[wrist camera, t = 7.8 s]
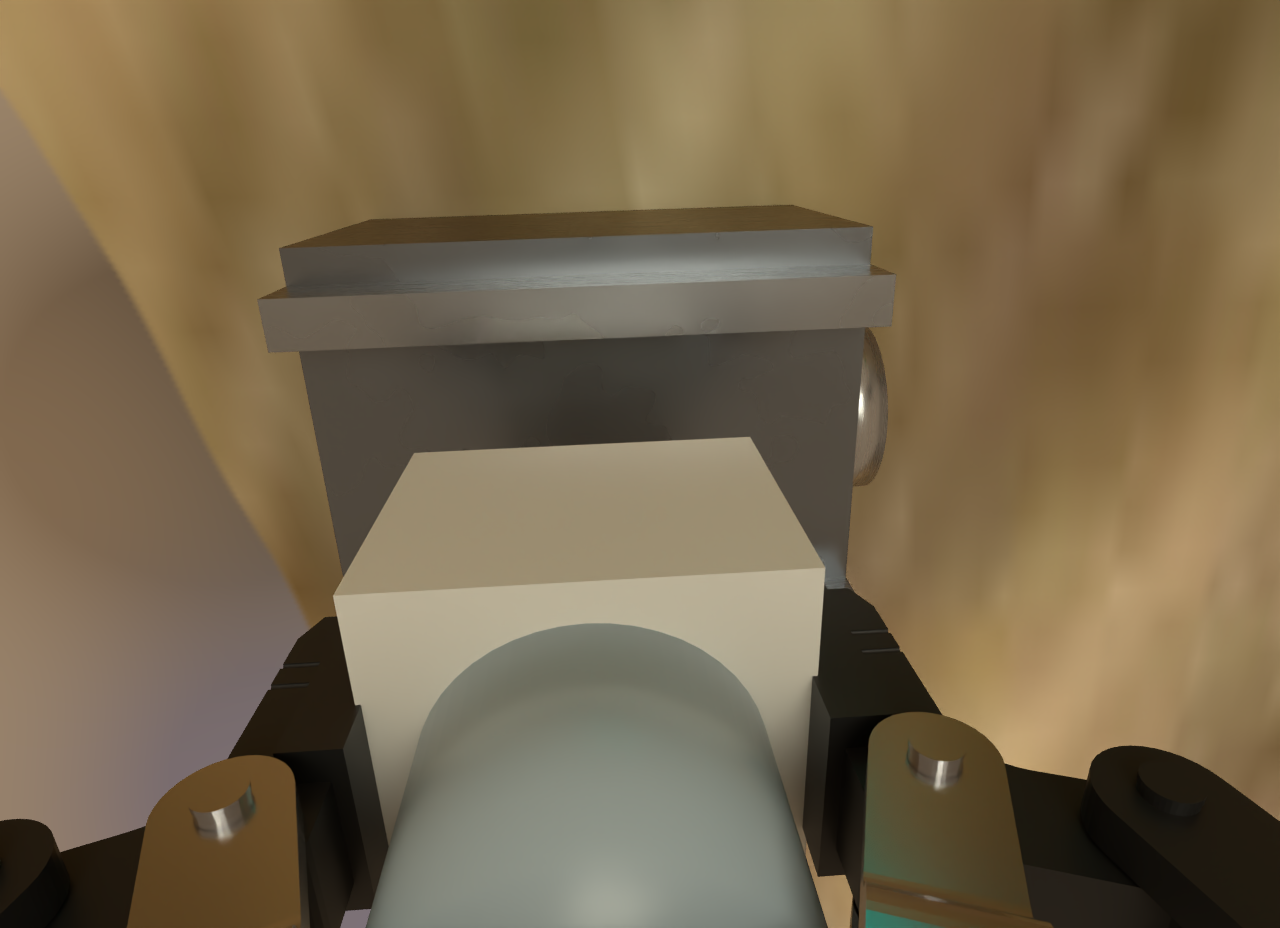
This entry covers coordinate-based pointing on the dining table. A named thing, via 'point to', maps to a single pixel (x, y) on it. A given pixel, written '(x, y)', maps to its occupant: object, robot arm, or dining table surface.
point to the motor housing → (592, 345)
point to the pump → (588, 688)
